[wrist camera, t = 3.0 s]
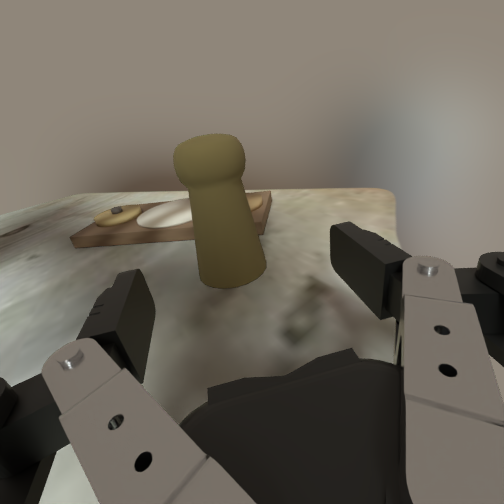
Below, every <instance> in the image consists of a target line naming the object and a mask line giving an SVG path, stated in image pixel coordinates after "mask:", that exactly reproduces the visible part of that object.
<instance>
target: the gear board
mask: <svg viewBox="0 0 504 504" xmlns="http://www.w3.org/2000/svg"><path fill="white" fill-rule="evenodd" d="M246 197H247V200H248V203H249V206H250V210H251V213H252V216H253V220H254V223H255V226H256V230H257V233H258V235H263V233H264V229H265V226H266V222H267V218H268V214H269V210H270V206H271V202H272V198H271V191H264V192H254V193H246ZM94 220H95V222H94V223H92V224H90V225H89V226H87V227H86V228H84V229H82V230H81V231H79V232H77V233H76V234H74V235H73V236H71V237H70V239H71V241H72V243H73V245H74V247H75V248H82V247H96V246H110V245H124V244H138V243H152V242H166V241H180V240H194V239H195V237H194V230H193V222H192V214H191V207H190V199H189V198H187V199H180V200H175V201H167V202H158V203H148V204H139V205H126V206H119V207H114V208H112V209H110V210H107V211H104V212H102V213H100V214H98V215H97V216H96V217H95V218H94Z"/></svg>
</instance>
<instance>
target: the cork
mask: <svg viewBox="0 0 504 504" xmlns="http://www.w3.org/2000/svg"><path fill="white" fill-rule="evenodd" d="M173 161H174V167H175V171H176V174H177V176H178V178H179V180H180V182H181V183H182V184H183V185H185V186H186V187H187V188H188V191H189V199H190V207H191V214H192V222H193V230H194V237H195V245H196V253H197V260H198V268H199V275H200V279H201V281H202V282H203V283H204V284H205V285H208V286H210V287H213V288H223V289H225V288H234V287H238V286H242V285H245V284H248V283H250V282H252V281H254V280H256V279H257V278H258V277H259V276H260V275H262V274H263V272H264V270H265V269H266V259H265V256H264V253H263V249H262V246H261V243H260V240H259V236H258V233H257V230H256V226H255V223H254V220H253V216H252V213H251V210H250V206H249V203H248V200H247V197H246V193H245V190H244V187H243V183H242V180H241V177H242V175H243V172H244V170H245V153H244V149H243V147H242V145H241V143H240V142H239V140H238V139H237V138H236V137H234V136H232V135H226V134H208V135H203V136H197V137H194V138H191V139H189V140H187V141H185V142H183V143H181V144H179V145H178V146H177V147H176V148H175V151H174V155H173Z"/></svg>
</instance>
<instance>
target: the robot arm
mask: <svg viewBox="0 0 504 504" xmlns="http://www.w3.org/2000/svg"><path fill="white" fill-rule="evenodd" d="M330 259H331V264H332V267H333V269H334V270H335V272H336V273H337V274H338V275H339V276H340V277H341V278H342V279H343V280H344V281H345V283H346V284H347V285H348V286H349V287H350V288H351V289H352V290H353V291H354V292H355V293H356V294H357V296H358V297H359V298H360V299H361V300H362V301H363V302H364V303H365V304H366V305H367V306H368V307H369V309H370V310H371V311H372V312H373V313H374V314H375V315H376V316H377V317H378V318H379V319H380V320H382V319H386V318H390V317H394V318H395V319H396V321H395V333H394V355H393V364H392V363H388V362H385V361H380V360H373V359H359V358H358V356H357V355H356V353H355V352H354V350H353V349H352V348H350V349H346V350H343V351H339V352H335V353H332V354H328V355H325V356H321V357H318V358H316V359H314V360H312V361H311V362H309V363H307V364H305V365H304V366H302V367H300V368H298V369H296V370H295V371H293V372H291V373H289V374H287V375H285V376H275V377H253V378H242V379H239V380H235V381H231V382H228V383H224V384H221V385H217V386H214V387H210V388H208V402H206V403H204V404H203V405H201V406H200V407H198V408H197V409H195V410H194V411H193V412H192V413H191V414H189V415H188V416H187V417H186V418H185V419H184V420H183V421H182V422H181V423H180V424H179V425H178V424H177V423H176V422H175V421H174V420H173V419H172V418H171V417H170V416H169V414H168V413H167V412H166V411H165V410H164V409H163V408H162V407H161V406H160V405H159V404H158V403H157V401H156V400H155V399H154V398H153V397H152V396H151V395H150V394H149V393H148V392H147V391H146V390H145V388H144V387H143V386H142V385H141V384H142V383H143V380H144V375H145V369H146V364H147V358H148V353H149V347H150V342H151V336H152V331H153V325H154V320H155V304H154V301H153V298H152V296H151V293H150V291H149V288H148V286H147V283H146V281H145V278H144V276H143V274H142V272H141V270H140V269H135V270H131V271H126V272H122V273H119V274H118V275H117V277H116V280H115V282H114V284H113V286H112V287H111V288H107V289H106V290H105V291H104V292H103V293H102V294H101V295H100V296H99V297H98V298H97V300H96V302H95V304H94V306H93V309H92V310H91V312H90V314H89V316H88V317H87V319H86V321H85V323H84V325H83V327H82V329H81V331H80V333H79V335H78V337H77V339H76V340H75V341H73V342H70V343H68V344H66V345H65V346H63V347H61V348H60V349H58V350H57V351H56V352H54V353H53V354H52V355H51V356H50V357H49V358H48V359H47V361H46V362H45V364H44V366H43V368H42V373H40V374H38V375H36V376H34V377H32V378H30V379H28V380H26V381H23V382H21V383H19V384H17V385H15V386H13V387H11V386H10V385H9V384H8V383H7V382H6V381H5V380H4V379H3V378H1V377H0V504H39V501H40V498H41V495H42V492H43V490H44V487H45V484H46V481H47V478H48V475H49V472H50V469H51V467H52V464H53V461H54V458H55V455H56V452H57V451H58V450H59V449H61V448H63V447H65V446H66V445H68V444H70V443H71V445H72V447H73V449H74V451H75V453H76V455H77V457H78V460H79V462H80V464H81V466H82V468H83V470H84V472H85V474H86V476H87V478H88V480H89V482H90V484H91V486H92V489H93V491H94V493H95V495H96V497H97V499H98V501H99V503H100V504H504V404H503V401H502V397H501V394H500V391H499V387H498V384H497V380H496V377H495V374H494V370H493V367H492V364H491V360H490V357H489V355H490V356H491V357H493V358H494V359H495V360H496V361H497V362H498V363H500V364H501V365H502V366H503V367H504V252H491V253H486V254H483V255H481V256H480V258H479V261H478V265H477V268H458V269H454V268H453V266H452V265H451V264H450V263H448V262H447V261H444V260H442V259H439V258H435V257H431V256H414V257H412V256H411V255H409V254H407V253H406V252H404V251H403V250H401V249H400V248H398V247H396V246H395V245H393V244H391V243H390V242H389V241H387V240H384V238H382V237H381V236H379V235H378V234H376V233H373V232H370V231H367V230H362V229H361V228H359V227H358V226H356V225H355V224H353V223H352V222H344V223H340V224H336V225H332V226H331V228H330Z"/></svg>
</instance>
